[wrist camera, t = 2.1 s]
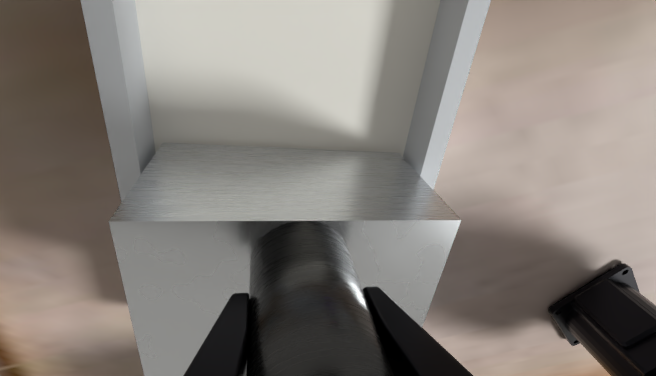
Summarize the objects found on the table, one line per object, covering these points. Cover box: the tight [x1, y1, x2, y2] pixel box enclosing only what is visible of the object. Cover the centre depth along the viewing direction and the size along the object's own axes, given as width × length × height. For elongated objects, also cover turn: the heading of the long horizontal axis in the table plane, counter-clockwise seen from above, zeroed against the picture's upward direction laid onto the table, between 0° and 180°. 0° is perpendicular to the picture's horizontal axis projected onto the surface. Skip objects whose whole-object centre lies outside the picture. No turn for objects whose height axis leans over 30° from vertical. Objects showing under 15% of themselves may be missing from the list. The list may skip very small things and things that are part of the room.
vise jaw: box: [109, 143, 461, 376], centre depth 12 cm, size 8×10×10 cm
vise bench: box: [81, 0, 491, 203], centre depth 16 cm, size 33×13×8 cm, turn 173°
